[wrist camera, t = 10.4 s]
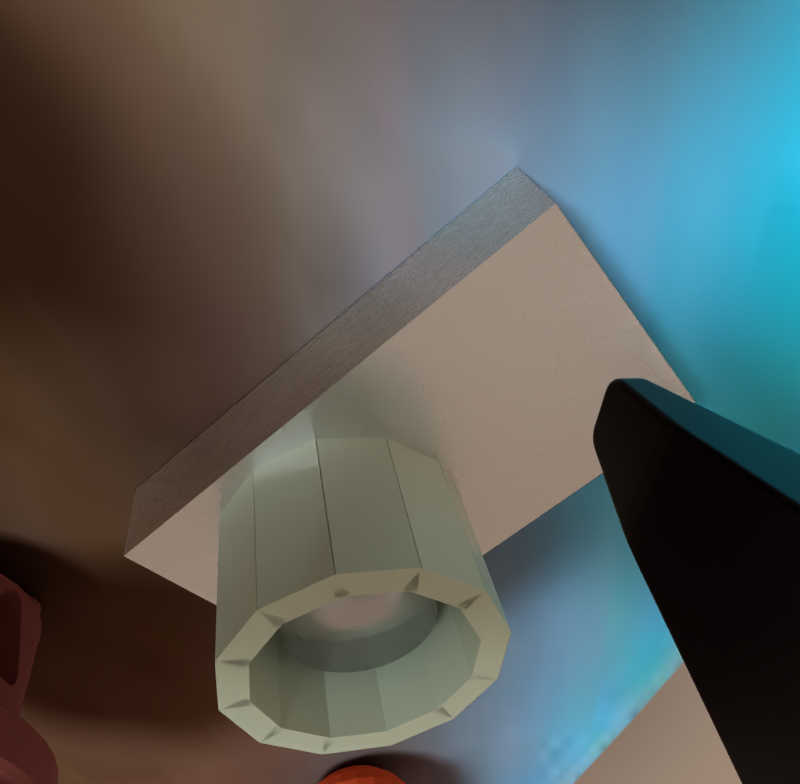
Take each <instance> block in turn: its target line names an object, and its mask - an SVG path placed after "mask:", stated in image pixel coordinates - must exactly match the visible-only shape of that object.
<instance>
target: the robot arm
mask: <svg viewBox="0 0 800 784" xmlns="http://www.w3.org/2000/svg"><path fill="white" fill-rule="evenodd" d="M593 444H594V448H595V452H596V454H597V457H598V460H599V463H600V466H601V469H602V472H603V475H604V477H605V480H606V483H607V486H608V489H609V492H610V495H611V498H612V500H613V503H614V506H615V509H616V512H617V515H618V518H619V520H620V523H621V526H622V529H623V532H624V534H625V537H626V539H627V542H628V544H629V547H630V549H631V551H632V553H633V556H634V558H635V560H636V562H637V564H638V567H639V569H640V571H641V573H642V575H643V577H644V579H645V581H646V583H647V585H648V587H649V590H650V592H651V594H652V596H653V598H654V600H655V602H656V604H657V606H658V608H659V611H660V613H661V615H662V617H663V619H664V621H665V623H666V625H667V627H668V629H669V631H670V634H671V636H672V638H673V640H674V642H675V644H676V646H677V648H678V650H679V652H680V654H681V657H682V659H683V661H684V663H685V665H686V667H687V669H688V671H689V673H690V675H691V678H692V679H693V682H694V684H695V686H696V688H697V690H698V692H699V694H700V696H701V698H702V701H703V703H704V705H705V707H706V709H707V711H708V713H709V715H710V717H711V719H712V721H713V724H714V726H715V728H716V730H717V732H718V734H719V736H720V738H721V740H722V742H723V744H724V747H725V749H726V751H727V753H728V755H729V757H730V759H731V761H732V763H733V765H734V767H735V770H736V771H737V774H738V776H739V778H740V780H741V782H742V784H800V454H798V453H796V452H794V451H792V450H790V449H788V448H786V447H783V446H781V445H779V444H777V443H775V442H773V441H771V440H769V439H767V438H765V437H763V436H761V435H759V434H757V433H755V432H753V431H751V430H749V429H747V428H745V427H743V426H741V425H738V424H736V423H734V422H732V421H730V420H728V419H726V418H724V417H722V416H720V415H718V414H716V413H714V412H712V411H710V410H708V409H706V408H704V407H702V406H700V405H698V404H696V403H693V402H691V401H689V400H687V399H685V398H683V397H681V396H679V395H677V394H675V393H673V392H671V391H669V390H667V389H665V388H663V387H661V386H659V385H657V384H655V383H653V382H651V381H648V380H646V379H643V378H618V379H614V380H613V381H611V382H610V383H609V385H608V386H607V389H606V391H605V395H604V398H603V401H602V404H601V407H600V410H599V414H598V417H597V420H596V423H595V426H594V431H593Z"/></svg>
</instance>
